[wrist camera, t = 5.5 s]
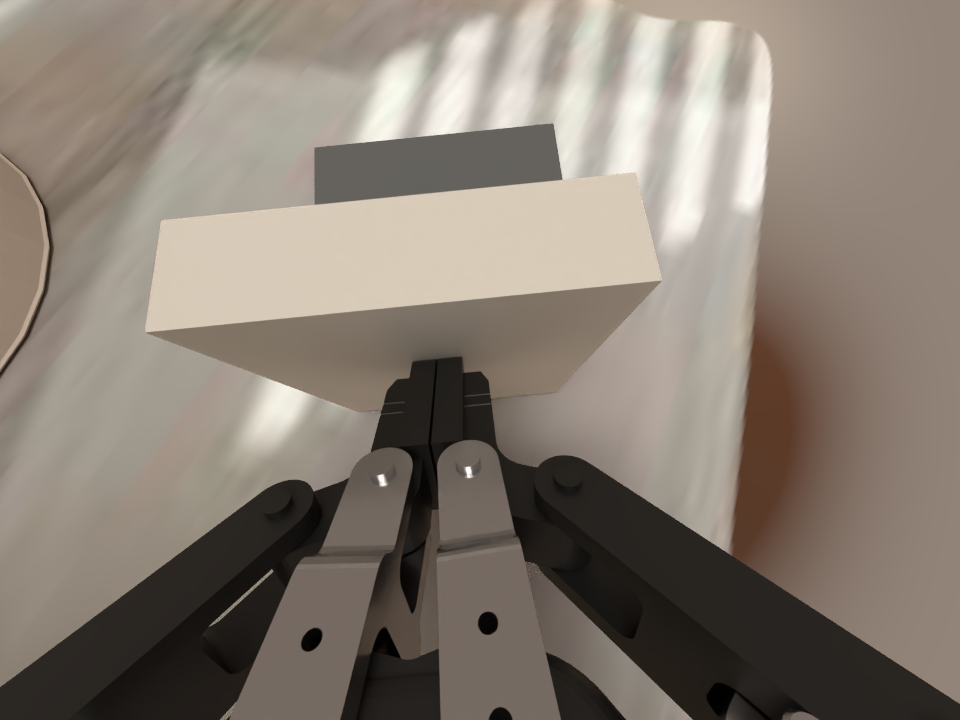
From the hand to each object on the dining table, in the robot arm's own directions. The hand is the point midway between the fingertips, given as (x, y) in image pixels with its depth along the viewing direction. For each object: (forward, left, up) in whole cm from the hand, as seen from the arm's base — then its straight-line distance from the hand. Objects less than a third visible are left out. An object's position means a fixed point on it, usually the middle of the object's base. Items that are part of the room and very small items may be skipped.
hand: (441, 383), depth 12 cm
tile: (-1, +1, -7) cm, 7 cm away
